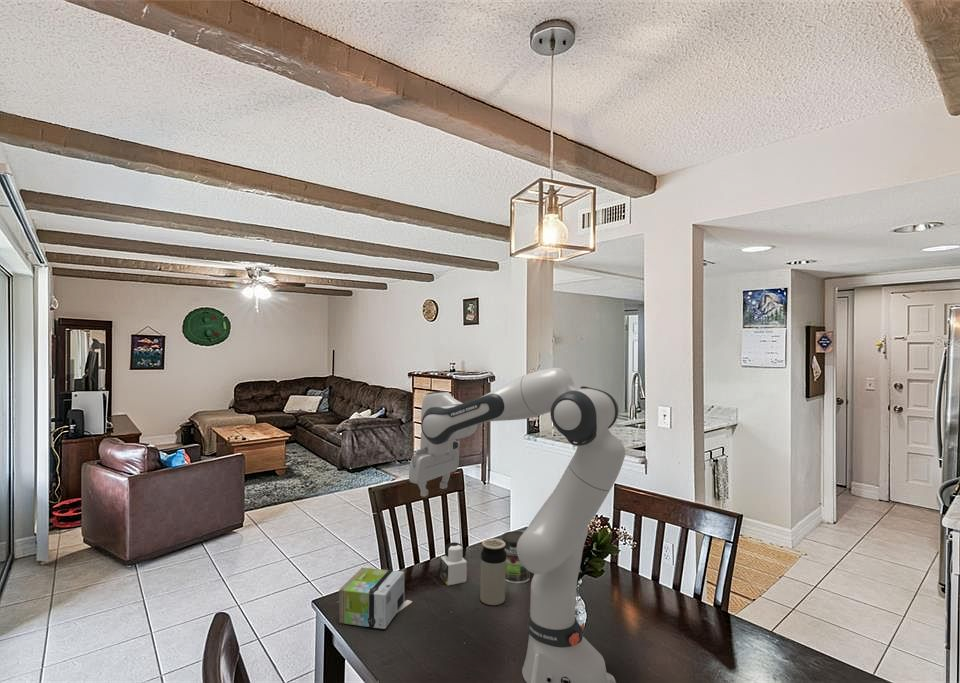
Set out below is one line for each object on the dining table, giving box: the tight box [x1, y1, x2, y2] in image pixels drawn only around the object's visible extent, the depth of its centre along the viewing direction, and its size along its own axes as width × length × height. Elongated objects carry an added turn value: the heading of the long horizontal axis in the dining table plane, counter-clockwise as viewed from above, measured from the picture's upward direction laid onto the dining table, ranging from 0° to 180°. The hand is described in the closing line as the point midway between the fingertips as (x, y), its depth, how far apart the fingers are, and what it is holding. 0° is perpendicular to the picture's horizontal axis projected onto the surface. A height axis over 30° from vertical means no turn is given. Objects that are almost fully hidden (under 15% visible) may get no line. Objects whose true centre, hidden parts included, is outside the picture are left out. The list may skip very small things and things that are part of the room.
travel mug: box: [479, 538, 506, 606], centre depth 155 cm, size 8×8×18 cm
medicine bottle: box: [439, 541, 468, 586], centre depth 168 cm, size 7×7×12 cm
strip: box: [371, 599, 413, 629], centre depth 146 cm, size 2×17×1 cm, turn 149°
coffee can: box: [501, 530, 531, 585], centre depth 171 cm, size 10×10×14 cm
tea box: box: [338, 567, 405, 630], centre depth 146 cm, size 15×10×15 cm
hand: (434, 492), depth 145 cm, fingers open, 8 cm apart
